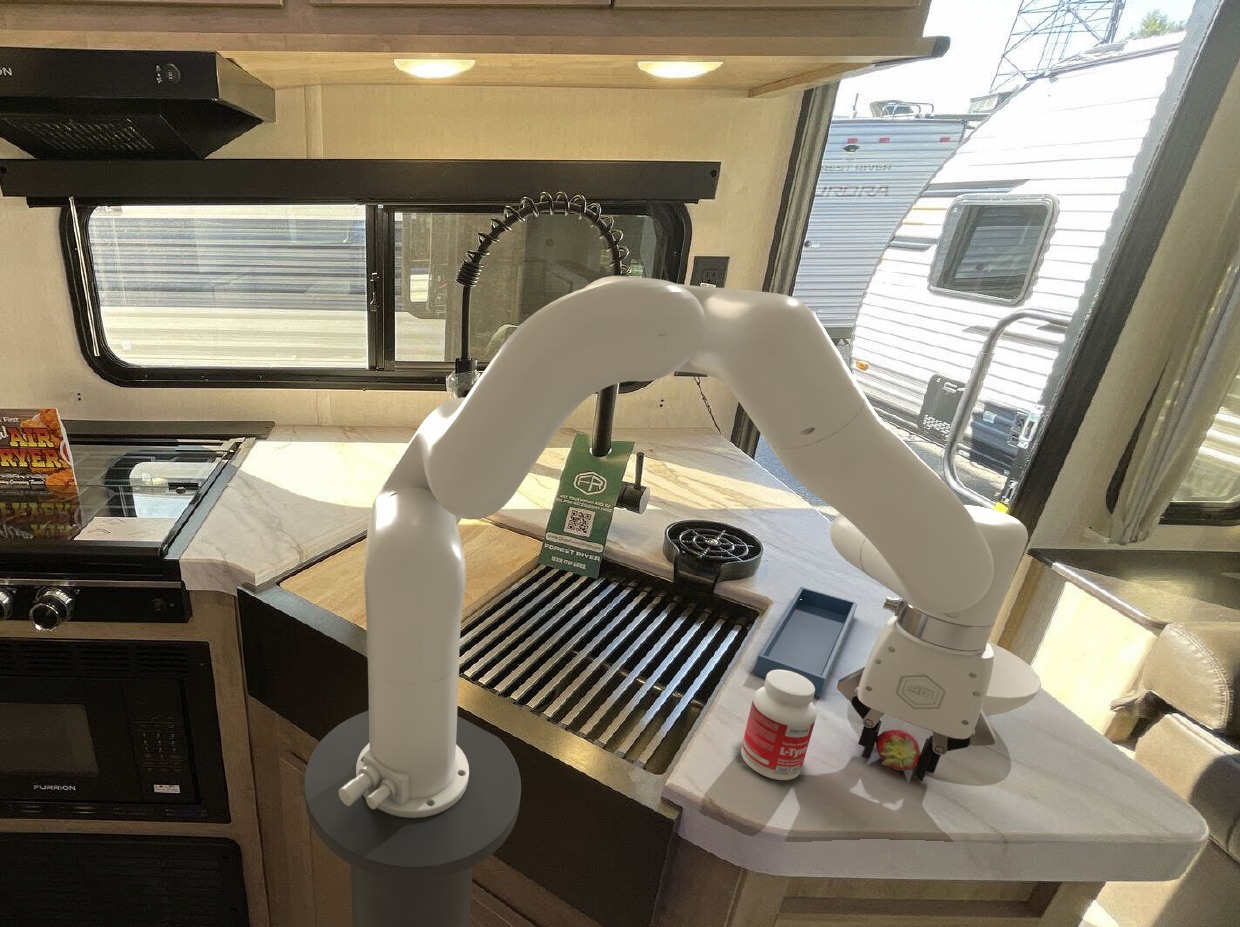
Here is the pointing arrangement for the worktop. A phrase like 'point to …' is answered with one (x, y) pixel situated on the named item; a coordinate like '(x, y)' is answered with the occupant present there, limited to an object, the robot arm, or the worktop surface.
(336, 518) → the worktop surface
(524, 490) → the worktop surface
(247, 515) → the worktop surface
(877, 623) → the worktop surface
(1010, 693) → the bowl
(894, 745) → the fruit
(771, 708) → the pill bottle
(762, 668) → the tray
